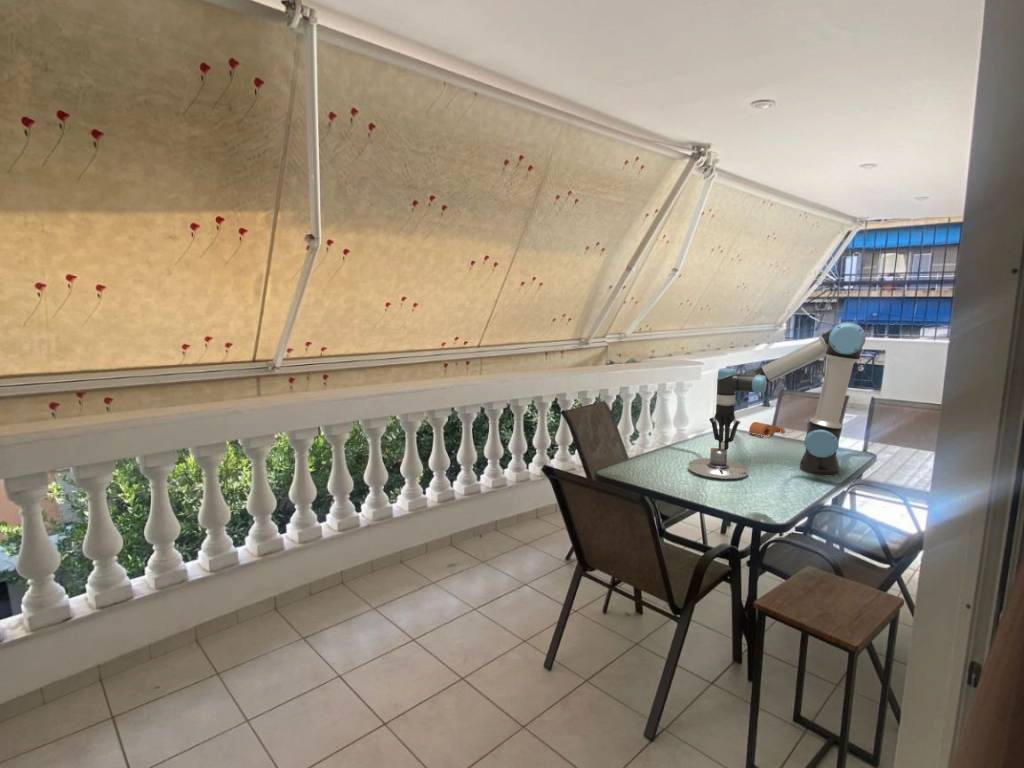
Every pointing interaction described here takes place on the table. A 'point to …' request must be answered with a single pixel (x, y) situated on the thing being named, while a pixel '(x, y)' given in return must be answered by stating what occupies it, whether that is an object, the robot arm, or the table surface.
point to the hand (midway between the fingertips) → (723, 456)
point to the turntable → (729, 473)
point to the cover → (718, 458)
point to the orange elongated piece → (764, 429)
